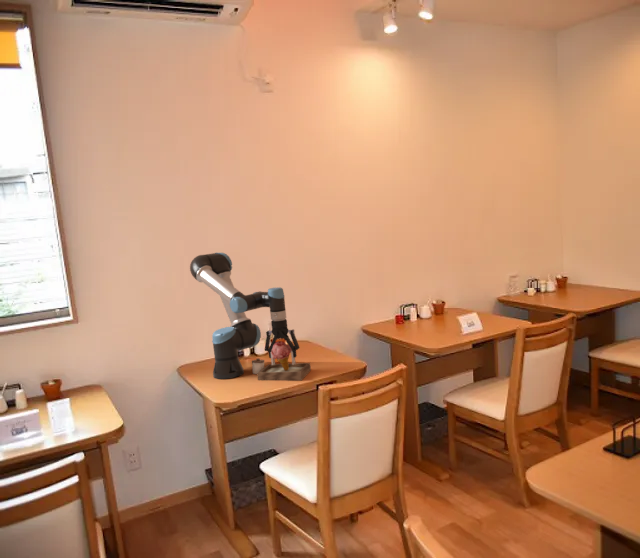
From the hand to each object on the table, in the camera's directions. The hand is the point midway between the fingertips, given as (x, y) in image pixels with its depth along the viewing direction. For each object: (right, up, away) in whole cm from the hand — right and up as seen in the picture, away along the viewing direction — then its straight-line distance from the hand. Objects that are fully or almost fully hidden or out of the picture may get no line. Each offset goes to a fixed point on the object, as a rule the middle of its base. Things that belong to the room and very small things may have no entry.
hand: (283, 364), depth 274 cm
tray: (+1, -6, +1) cm, 6 cm away
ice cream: (+2, -3, 0) cm, 4 cm away
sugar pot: (-13, -6, +9) cm, 17 cm away
